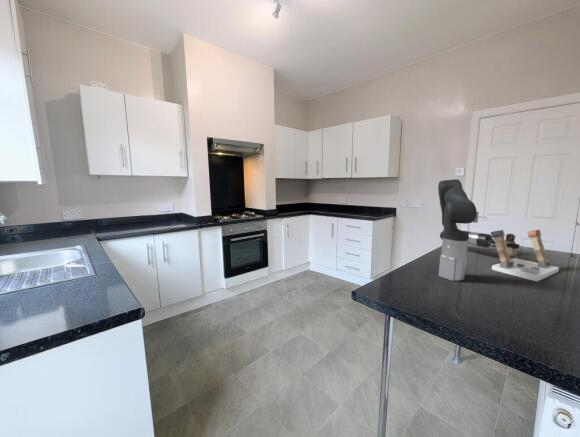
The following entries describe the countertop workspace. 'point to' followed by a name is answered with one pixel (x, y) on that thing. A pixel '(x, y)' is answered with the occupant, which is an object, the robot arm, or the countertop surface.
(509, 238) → the figurine
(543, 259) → the brown long rectangular block
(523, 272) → the panel
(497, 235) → the tan wooden post
